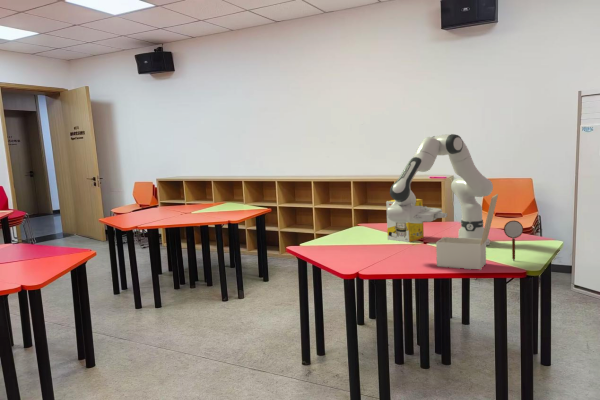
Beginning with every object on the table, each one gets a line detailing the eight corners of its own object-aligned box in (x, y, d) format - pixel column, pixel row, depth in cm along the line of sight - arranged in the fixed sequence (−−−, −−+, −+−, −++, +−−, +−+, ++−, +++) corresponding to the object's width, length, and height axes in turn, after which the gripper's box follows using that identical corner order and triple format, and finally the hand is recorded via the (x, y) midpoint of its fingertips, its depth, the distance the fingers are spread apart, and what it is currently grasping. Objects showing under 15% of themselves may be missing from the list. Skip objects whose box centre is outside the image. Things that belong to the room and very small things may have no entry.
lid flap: (496, 194, 209) (498, 194, 208) (485, 239, 214) (487, 239, 213) (491, 197, 197) (493, 197, 197) (480, 244, 202) (481, 245, 202)
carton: (444, 260, 225) (443, 237, 224) (486, 263, 215) (485, 239, 213) (436, 266, 215) (436, 242, 213) (480, 270, 204) (480, 244, 203)
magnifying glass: (522, 260, 216) (522, 220, 214) (523, 261, 215) (523, 220, 213) (503, 260, 218) (503, 220, 216) (504, 261, 217) (504, 221, 215)
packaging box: (387, 239, 286) (386, 201, 283) (402, 235, 297) (401, 198, 294) (408, 242, 274) (407, 202, 271) (423, 237, 284) (422, 199, 282)
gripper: (411, 211, 214) (440, 211, 207) (424, 205, 231) (451, 206, 224) (412, 224, 215) (441, 225, 207) (424, 217, 232) (452, 218, 224)
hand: (446, 215), depth 216 cm, fingers closed
